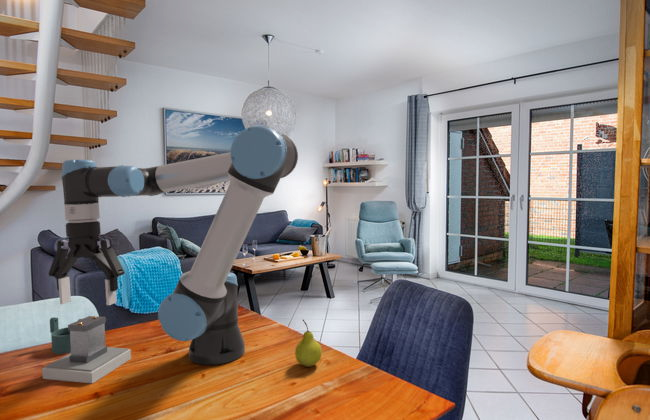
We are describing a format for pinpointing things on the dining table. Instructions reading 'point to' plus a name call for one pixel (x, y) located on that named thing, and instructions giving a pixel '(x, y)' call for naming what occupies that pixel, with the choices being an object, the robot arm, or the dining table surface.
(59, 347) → the bracket
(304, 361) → the fruit
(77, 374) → the stand
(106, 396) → the dining table surface
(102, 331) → the housing
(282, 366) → the dining table surface
